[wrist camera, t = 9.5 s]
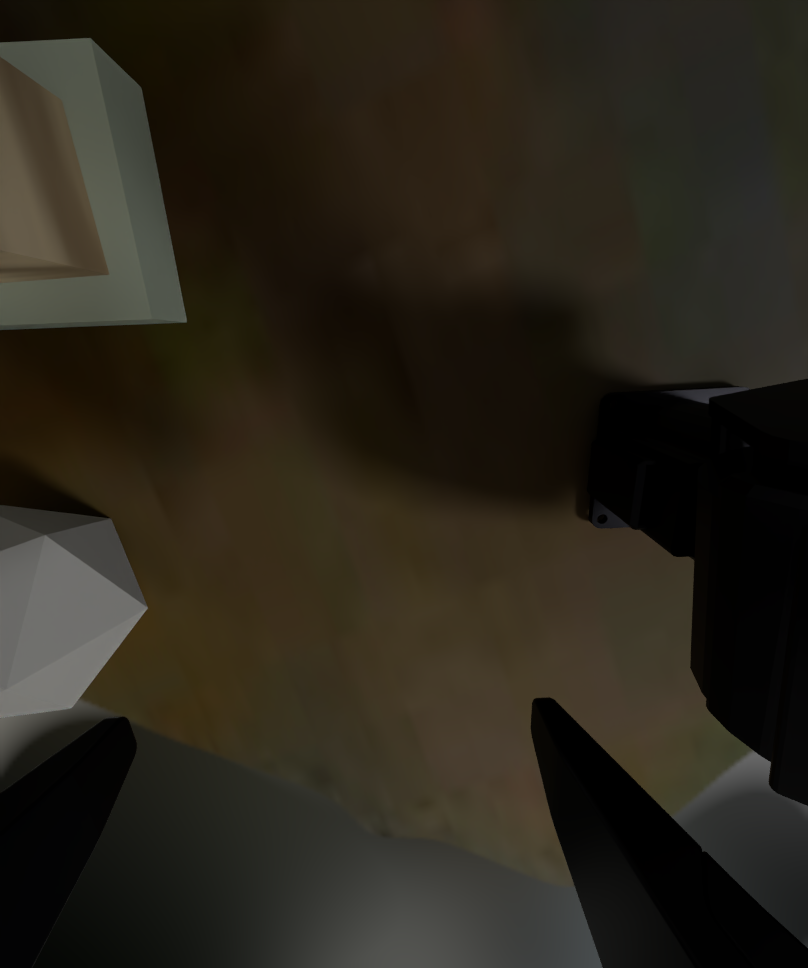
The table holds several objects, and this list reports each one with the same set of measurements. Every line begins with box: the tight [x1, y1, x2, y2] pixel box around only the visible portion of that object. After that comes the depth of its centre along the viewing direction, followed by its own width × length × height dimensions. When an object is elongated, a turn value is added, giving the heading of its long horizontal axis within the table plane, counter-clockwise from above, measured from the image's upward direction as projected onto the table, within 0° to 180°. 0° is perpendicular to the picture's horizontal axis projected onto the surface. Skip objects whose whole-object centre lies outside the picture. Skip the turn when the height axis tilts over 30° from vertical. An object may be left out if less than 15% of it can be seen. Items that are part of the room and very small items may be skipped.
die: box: [0, 505, 148, 718], centre depth 18 cm, size 8×9×10 cm
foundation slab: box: [0, 38, 187, 330], centre depth 15 cm, size 8×8×3 cm
